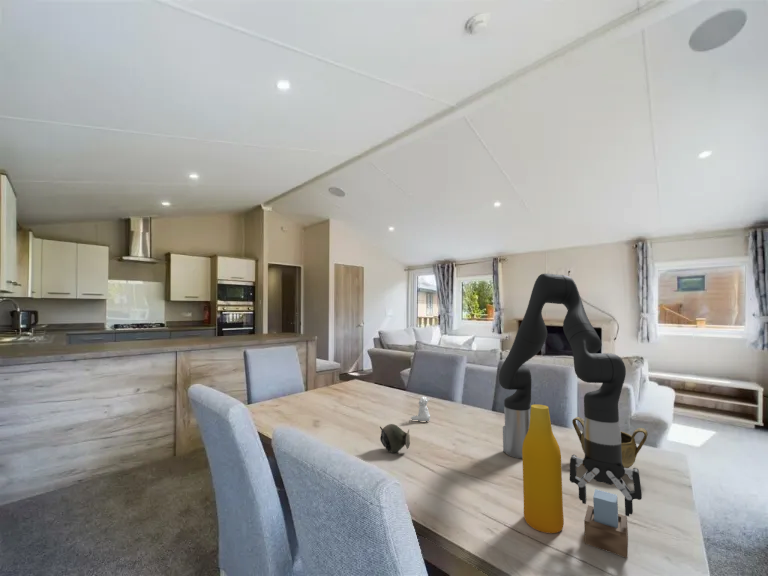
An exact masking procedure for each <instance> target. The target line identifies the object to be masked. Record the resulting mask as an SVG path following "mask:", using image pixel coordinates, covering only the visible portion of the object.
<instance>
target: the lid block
mask: <svg viewBox="0 0 768 576" xmlns="http://www.w3.org/2000/svg"><path fill="white" fill-rule="evenodd" d="M592 497H593V498H592V499H593V507H594V521H595V522H598V523H602V524H605V525H608V526H611V527H615V528H618V514H619V506H618V505H619V504H618V494H616V493H615V494H614V493H611V492H607V491H603V490H599V489H596V488H595V489H594V491H593V496H592Z"/></svg>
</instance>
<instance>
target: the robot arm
mask: <svg viewBox="0 0 768 576" xmlns="http://www.w3.org/2000/svg"><path fill="white" fill-rule="evenodd" d="M580 295H581V294H580V292H579V290H578V287H577V284H576V282H575V281H574V279H573V278H572V277H571V276H568V275H565V274H555V273H554V274H553V273H541V274H540V275H538V276H537V278H536V280H535V281H534V285H533V287H532V291H531V294H530V298H529V301H528V304H527V308H526V310H525V314H524V316H523V318H522V321H521V322H520V326H519V327H518V329H517V332H516V335H515V337H514V338H515V339H514V341H513V342H512V345H511V348H510V350H509V353H508V354H507V357H505V359H504V361H503V363H502V365H501V367H500V369H499V373H498V382H499V385H500V387H502V388H503V389H504V390H509V391H510V390H514V391H515V392H513V393H512V394H511V395H509V396H507V397H506V398H505V399H504V400H503V401H504V403H503V405H504V407H503V409H504V425H503V426H502V447H503V448H502V452H503V453H505V454H507V455H508V456H510V457H513V458H516V459H517V458H518V459H522V447H523V441H524V439H525V436H526V434H527V432H528V430H529V425H530V413H531V402H532V373H531V370H530V369H529V367H528V366H527V365H525V363H526V362H528V361H530V360H531V359H532V358H533V357H535V356H536V355H538V354H539V353H540V351H541V350H542V348H543V346H544V344H545V343H546V340H547V337H548V330H547V329H548V328H547V325H546V323H545V320H544V317H543V314H542V312H543V308H544V306H545V304H555V305H563V306H564V307H565V308H566V310H567V311H566V314H565V317H564V320H563V322H562V329H563V333H564V335H565V338H566V339H567V341H568V344H569V345H570V347H571V351H572V357H573V358H572V359H573V367H574V373H575V375H576V377H577V378H579V380H580V381H583V382H584V383H588V384H590V383H591V384H601V386H600V387H599V389H596V390H593V391H589V392H588V391H587V392H586V393H585V394H584V396H583V410H584V412H583V413H584V415H583V416H584V418H583V420H584V431H583V430H582V432H583V434H584V448H585V453H584V458H582V457H578V456H577V455H576V454H572V455H571V457H570V459H569V482H570V483H572V484H575V485H577V486H578V499H579V501H581V503H582V504H584V505H586V504H587V484H588V483H589V482H591V481H592V480H594V481H595V482H597V483H604V484H606V485H610V486H612V485H614V486H616V488H617V490H619V491H620V492H621V494H622V495H623V496H624V512H625V513H624V516H627V517H630V515H633V512H634V511H633V510H634V508H633V506H634V505H633V500H639V501H641V500H642V499H643V498H642V497H643V496H642V493H643V492H642V486H641V477H640V470H639V469H638V468H637V467H633V468H624V466H623V464H622V449H621V431H622V430H621V425H620V415H619V414H620V413H619V403H620V402H619V401H620V399H621V398H620V397H621V393H622V390H623V386H624V383H625V380H626V374H627V373H626V372H627V370H626V366H625V363H624V361H623V359H622V358H621V356H619V355H617V354H615V353H609V352H608V353H606V352H605V353H602V352H601V353H598V352H599V351H600V350H601V349H602V341H601V339H600V336H599V335H598V333H597V331H596V329H595V328H594V327H593V325H592V323H591V321H590V320H589V318H588V315H587V313H586V311H585V307H584V303H583V301H582V298H581V296H580ZM581 465H583V467H584V468H585V470H586V471H585V473H584V474H583V475H582V476H581V477H578V476H577V473H578V472H577V470H578V468H579V467H580V466H581ZM625 474H626V475H627V476H628V478H629V479H630V480H632V481H633V489H634V490H630V488H629V487H628V486H627V485H626V482H625V481H624V479H622V477H623V476H625Z"/></svg>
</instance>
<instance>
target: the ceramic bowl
mask: <svg viewBox="0 0 768 576" xmlns="http://www.w3.org/2000/svg"><path fill="white" fill-rule="evenodd" d="M577 421H578V422H579V423H580V425H581V427H582V432H581V430H580V428H579V425H578V424H577ZM571 422H572V426H573V428H574V430H575V432H576V434H577V437H578V440H579V442H580V444H581V448H582V451H583V453H584V454H585V448H584V434H583V431H584V418H582V417H580V416H576V417H575V418H573V419H572V421H571ZM638 433H643V434H644V436H643V438H642V439H641V441H640V442H639V444H638V446H637V442H636V439H635V437H636V435H637V434H638ZM648 434H649V433H648V431H647V430H646V429H645V428H644V427H643V428H642V427H638V428H637V429H635V430H634V431H633V433H632V434H629V433H627V432H624V431H622V430H621V449H622V464H623V466H624V468H628V469H630V468H631V467H632V466H633V465H634V464H635V462H636V458H637V456H638V453H639V452H640V451H641V449H642V447H643V446H644V444H645V443H646V441H647V437H648V436H649V435H648Z"/></svg>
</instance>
